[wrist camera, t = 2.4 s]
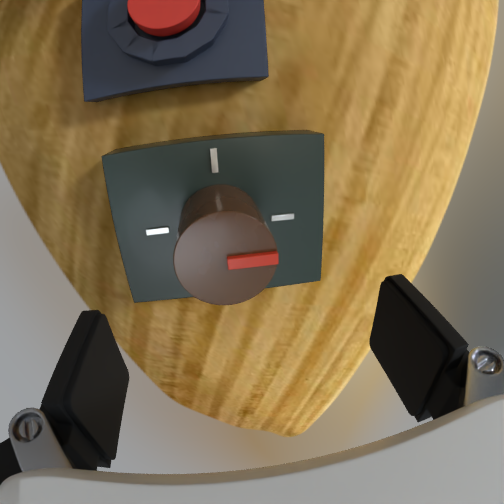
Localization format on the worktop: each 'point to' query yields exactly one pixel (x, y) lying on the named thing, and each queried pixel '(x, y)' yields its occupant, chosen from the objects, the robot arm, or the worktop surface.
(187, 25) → the button
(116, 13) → the button box
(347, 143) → the worktop surface
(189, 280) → the knob
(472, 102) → the worktop surface
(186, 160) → the panel
